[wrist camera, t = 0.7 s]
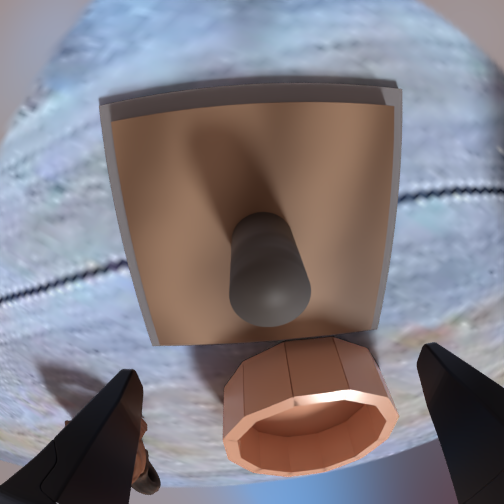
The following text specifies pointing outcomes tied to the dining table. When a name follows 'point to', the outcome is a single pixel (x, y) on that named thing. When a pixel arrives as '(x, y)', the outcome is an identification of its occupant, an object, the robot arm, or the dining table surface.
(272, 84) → the felt mat
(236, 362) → the dining table surface
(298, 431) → the terracotta bowl
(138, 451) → the brown curved piece
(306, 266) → the walnut lid
